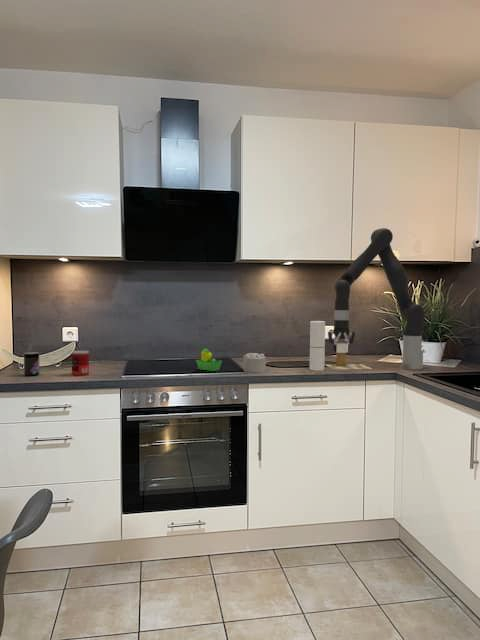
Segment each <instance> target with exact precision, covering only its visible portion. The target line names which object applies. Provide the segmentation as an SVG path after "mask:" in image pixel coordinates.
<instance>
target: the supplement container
mask: <svg viewBox="0 0 480 640" xmlns="http://www.w3.org/2000/svg"><path fill="white" fill-rule="evenodd" d="M40 371H41V370H40V352H38V351H37V352H36V351H34V352H33V351H30V352H24V353H23V375H24V376H25V377H38V376H39V375H40Z"/></svg>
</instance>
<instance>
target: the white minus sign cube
mask: <svg viewBox="0 0 480 640" xmlns="http://www.w3.org/2000/svg"><path fill="white" fill-rule="evenodd" d="M336 352H337V353H349V351H348V344H347V343H346V342H337V343H336ZM336 352H335V353H336Z"/></svg>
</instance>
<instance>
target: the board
mask: <svg viewBox="0 0 480 640" xmlns="http://www.w3.org/2000/svg"><path fill="white" fill-rule="evenodd" d="M324 366H325V367H328V368H329V369H331V370H373V368H372V367H369V366H367V365H364V364H362V363H353V364H352V363H348V364H347V363H345V366H343V367H340V366H336V363H334V364H333V363H332V364H330V363H329V364H325V363H324Z"/></svg>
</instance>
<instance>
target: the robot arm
mask: <svg viewBox="0 0 480 640" xmlns="http://www.w3.org/2000/svg"><path fill="white" fill-rule="evenodd" d="M393 236H394V235H393V232H392V231H391V230H390V229H388V228H386V227H385V228H378V229H374V230H373V232H372V233H371V236H370V244H369V245H368V247H367V248H366V249H365V250H364V251H362V253H361V254H360V255H358V257H357V258H355V260H354V261H353V262H352V263H351V264H350V266H349V267H348V268H347V269H346V271H345V272H344V273H343V274H342V275H341V276H340V277H339V278H338V279H337V281H336V282H335V283H334V286H333V287H334V290H335V300H334V314H333V331H327V336H328V342H329V344H331V345H332V351H333V352H334V353H336V343H338V342H339V340H341V339H342V340H344V343H347V344H348V352H349V351H350V345H352V344H353V343H354V339H355V335H356V333H355V331H350V304H349V300H350V294H351V286H352V285H353V283H354V282H355V281H357V280H358V279H359V278H360V276H361V275H362V274H363V273H364V272H365V271H366V269H367V268H368V267H369V265H370V264H371V263H372V261H374V259H375V258H376V257H377V256H378V257H379V260H380V262H381V265H382V268H383V270H384V272H385V275H386V278H387V280H388V282H389V286H390V288H391V290H392V293H393V295H394V297H395V300H396V302H397V305H398V309H399V313H400V316H401V318H403V320H404V321H406V327H405V328H404V329H403V330H402V359H401V360H402V363H401V369H404V370H412V371H413V370H415V371H417V370H423V369H424V368H423V367H424V365H423V364H424V350H422V346H423V345H422V341H423V340H422V339H423V331H424V328H425V317H426V316H425V315H426V314H425V310H424V307H422V305H419V304H414V301H413V300H412V298H411V295H410V292H409V278H408V275H407V273H406V269H404V268H405V267H404V266H403V264H402V263H401V261H400V260H399V259H398V257H397V256H396V254H395V253H394V251H393V249H392V246H391V243H392V241H393V240H394V239H393ZM333 335H334V337H333ZM348 336H349V337H348ZM333 338H334V339H333Z"/></svg>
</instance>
